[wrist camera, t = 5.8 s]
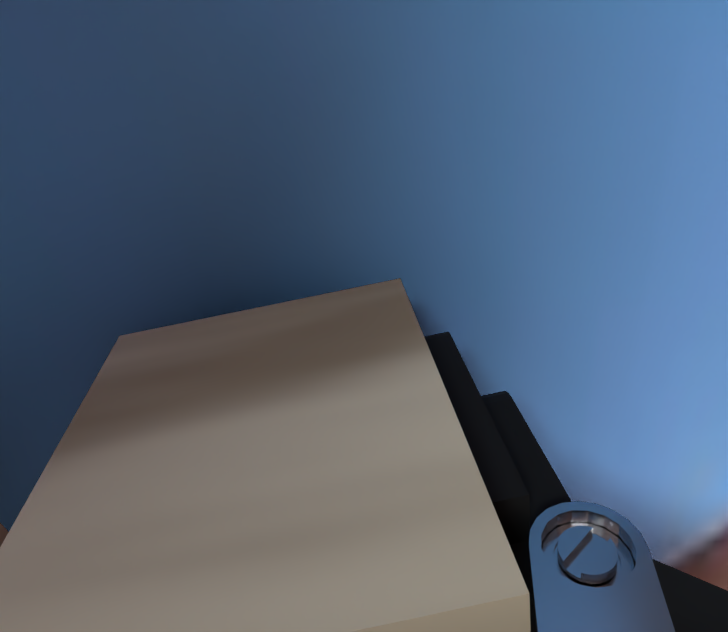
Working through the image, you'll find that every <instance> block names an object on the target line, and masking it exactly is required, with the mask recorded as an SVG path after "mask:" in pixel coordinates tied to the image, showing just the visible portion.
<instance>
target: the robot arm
mask: <svg viewBox="0 0 728 632" xmlns="http://www.w3.org/2000/svg"><path fill="white" fill-rule="evenodd" d="M424 338H425V340H426V342H427V345H428V347H429V350H430V352H431V355H432V357H433V359H434V362H435V364H436V367H437V369H438V372H439V374H440V377H441V379H442V381H443V384H444V386H445V389H446V391H447V394H448V396H449V399H450V401H451V403H452V406H453V408H454V411H455V413H456V416H457V418H458V420H459V423H460V425H461V428H462V430H463V433H464V435H465V438H466V440H467V442H468V445H469V447H470V450H471V452H472V455H473V457H474V460H475V462H476V464H477V467H478V469H479V472H480V474H481V477H482V479H483V481H484V484H485V486H486V489H487V491H488V494H489V496H490V499H491V501H492V503H493V506H494V508H495V511H496V513H497V516H498V518H499V521H500V523H501V525H502V528H503V530H504V533H505V535H506V538H507V540H508V542H509V545H510V547H511V550H512V552H513V555H514V557H515V560H516V562H517V564H518V567H519V569H520V572H521V574H522V577H523V579H524V582H525V584H526V586H527V589H528V591H529V596H530V627H531V632H728V591H726V590H724V589H722V588H719V587H717V586H715V585H712V584H710V583H708V582H705V581H703V580H700V579H698V578H696V577H693V576H691V575H689V574H686V573H684V572H682V571H679V570H677V569H675V568H672V567H670V566H668V565H665V564H663V563H661V562H658V561H656V560H654V559H652V557H651V554H650V551H649V548H648V546H647V544H646V542H645V540H644V538H643V536H642V534H641V533H640V532H639V530H638V529H637V528H636V527H635V526H634V525H633V524H632V523H631V522H630V521H629V520H628V519H626V518H625V517H623V516H622V515H620V514H619V513H617V512H615V511H614V510H612V509H609V508H607V507H604V506H601V505H598V504H596V503H588V502H581V501H574V502H571V500H570V498H569V496H568V495H567V493H566V491H565V489H564V488H563V486H562V484H561V482H560V481H559V479H558V477H557V476H556V474H555V472H554V470H553V469H552V467H551V465H550V463H549V462H548V460H547V458H546V456H545V455H544V453H543V451H542V449H541V448H540V446H539V444H538V442H537V441H536V439H535V437H534V436H533V434H532V432H531V430H530V429H529V427H528V425H527V423H526V422H525V420H524V418H523V416H522V415H521V413H520V411H519V409H518V408H517V406H516V404H515V402H514V401H513V399H512V397H511V396H510V395H509V393H508V392H506V391H503V392H498V393H493V394H488V395H483V396H480V394H479V392H478V390H477V388H476V385H475V383H474V381H473V379H472V377H471V375H470V373H469V371H468V369H467V367H466V365H465V363H464V361H463V359H462V357H461V355H460V353H459V351H458V349H457V347H456V345H455V343H454V341H453V339H452V337H451V335H450V333H449V332H444V333H440V334H435V335H430V336H425V337H424Z"/></svg>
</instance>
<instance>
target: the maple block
mask: <svg viewBox="0 0 728 632" xmlns="http://www.w3.org/2000/svg"><path fill="white" fill-rule="evenodd" d="M0 632H531V627H530V596H529V591H528V589H527V586H526V584H525V582H524V579H523V577H522V574H521V572H520V569H519V567H518V564H517V562H516V560H515V557H514V555H513V552H512V550H511V547H510V545H509V542H508V540H507V538H506V535H505V533H504V530H503V528H502V525H501V523H500V521H499V518H498V516H497V513H496V511H495V508H494V506H493V503H492V501H491V499H490V496H489V494H488V491H487V489H486V486H485V484H484V481H483V479H482V477H481V474H480V472H479V469H478V467H477V464H476V462H475V460H474V457H473V455H472V452H471V450H470V447H469V445H468V442H467V440H466V438H465V435H464V433H463V430H462V428H461V425H460V423H459V420H458V418H457V416H456V413H455V411H454V408H453V406H452V403H451V401H450V399H449V396H448V394H447V391H446V389H445V386H444V384H443V381H442V379H441V377H440V374H439V372H438V369H437V367H436V364H435V362H434V359H433V357H432V355H431V352H430V350H429V347H428V345H427V342H426V340H425V338H424V335H423V333H422V330H421V328H420V325H419V323H418V320H417V318H416V316H415V313H414V311H413V308H412V306H411V303H410V301H409V299H408V296H407V294H406V291H405V289H404V286H403V284H402V281H401V279H400V278H399V279H395V280H390V281H385V282H380V283H375V284H370V285H365V286H360V287H355V288H351V289H346V290H341V291H336V292H331V293H326V294H321V295H316V296H311V297H307V298H302V299H297V300H292V301H287V302H282V303H277V304H272V305H267V306H263V307H258V308H253V309H248V310H243V311H238V312H233V313H228V314H223V315H219V316H214V317H209V318H204V319H199V320H194V321H189V322H184V323H179V324H175V325H170V326H165V327H160V328H155V329H150V330H145V331H140V332H135V333H131V334H126V335H121V336H119V337H118V339H117V341H116V343H115V345H114V346H113V348H112V350H111V352H110V353H109V355H108V357H107V359H106V360H105V362H104V364H103V366H102V368H101V369H100V371H99V373H98V375H97V376H96V378H95V380H94V382H93V384H92V385H91V387H90V389H89V391H88V392H87V394H86V396H85V398H84V399H83V401H82V403H81V405H80V407H79V408H78V410H77V412H76V414H75V415H74V417H73V419H72V421H71V423H70V424H69V426H68V428H67V430H66V431H65V433H64V435H63V437H62V439H61V440H60V442H59V444H58V446H57V447H56V449H55V451H54V453H53V454H52V456H51V458H50V460H49V462H48V463H47V465H46V467H45V469H44V470H43V472H42V474H41V476H40V478H39V479H38V481H37V483H36V485H35V486H34V488H33V490H32V492H31V493H30V495H29V497H28V499H27V501H26V502H25V504H24V506H23V508H22V509H21V511H20V513H19V515H18V517H17V518H16V520H15V522H14V524H13V525H12V527H11V529H10V531H9V532H8V534H7V536H6V538H5V540H4V541H3V543H2V545H1V547H0Z"/></svg>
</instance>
